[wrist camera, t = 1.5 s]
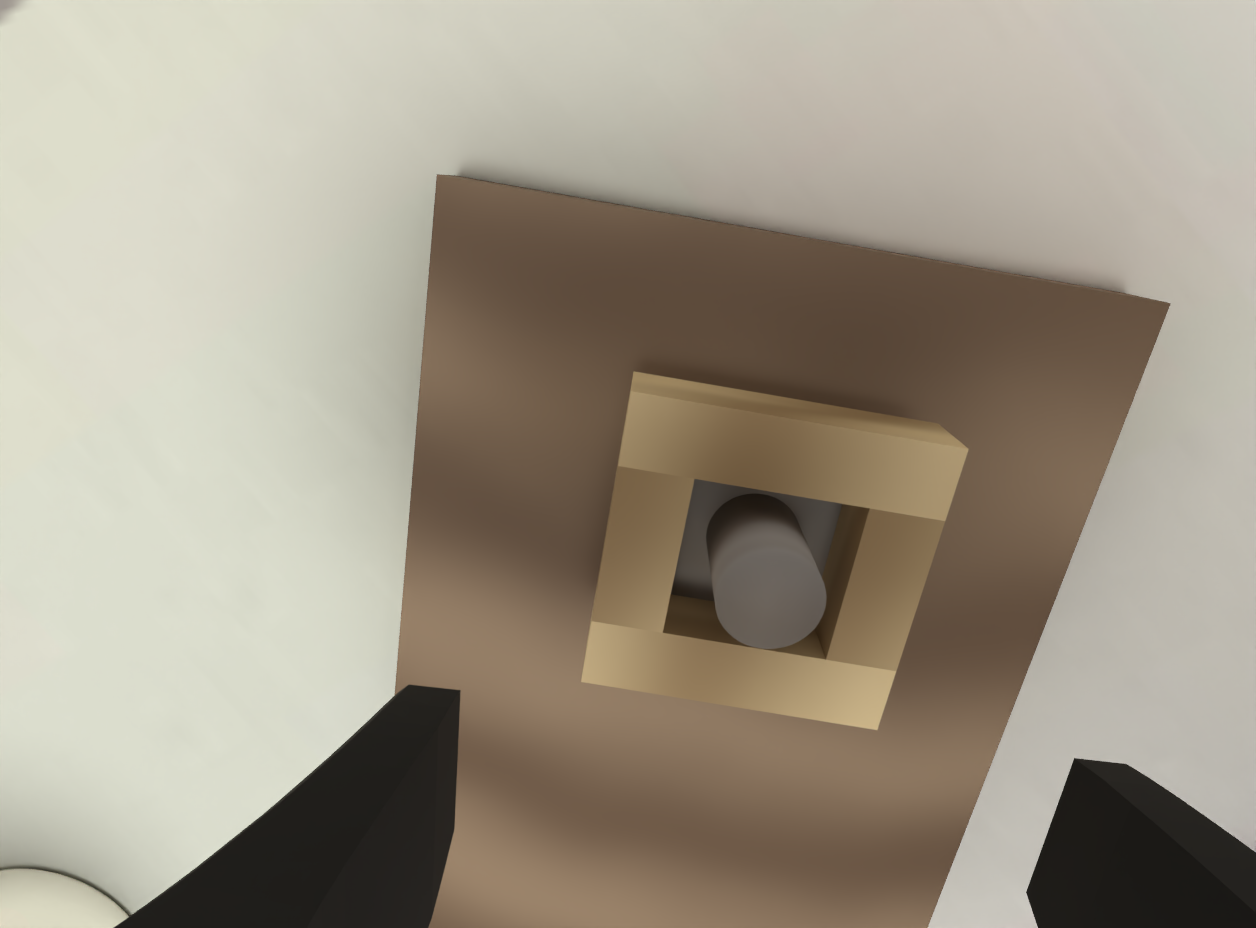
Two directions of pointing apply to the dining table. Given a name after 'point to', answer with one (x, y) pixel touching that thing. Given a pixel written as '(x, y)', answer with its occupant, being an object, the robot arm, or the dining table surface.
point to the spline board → (544, 528)
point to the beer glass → (53, 902)
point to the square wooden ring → (782, 463)
